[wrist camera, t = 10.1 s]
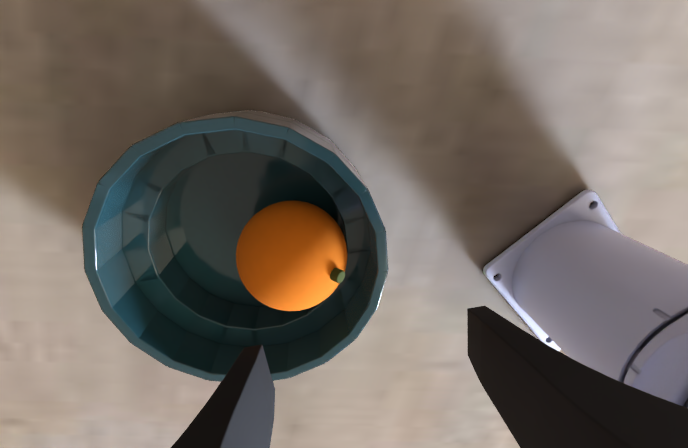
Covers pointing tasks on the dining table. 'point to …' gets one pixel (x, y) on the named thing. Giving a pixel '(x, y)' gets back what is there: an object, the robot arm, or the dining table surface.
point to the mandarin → (291, 255)
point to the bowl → (226, 243)
